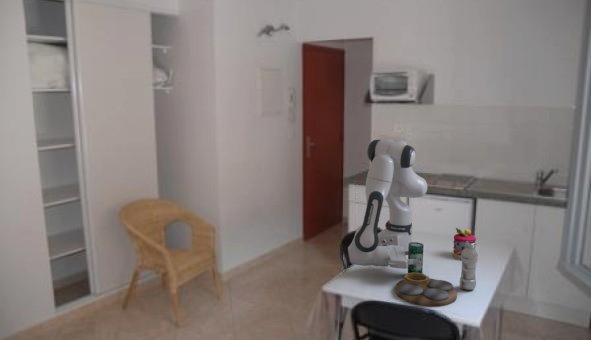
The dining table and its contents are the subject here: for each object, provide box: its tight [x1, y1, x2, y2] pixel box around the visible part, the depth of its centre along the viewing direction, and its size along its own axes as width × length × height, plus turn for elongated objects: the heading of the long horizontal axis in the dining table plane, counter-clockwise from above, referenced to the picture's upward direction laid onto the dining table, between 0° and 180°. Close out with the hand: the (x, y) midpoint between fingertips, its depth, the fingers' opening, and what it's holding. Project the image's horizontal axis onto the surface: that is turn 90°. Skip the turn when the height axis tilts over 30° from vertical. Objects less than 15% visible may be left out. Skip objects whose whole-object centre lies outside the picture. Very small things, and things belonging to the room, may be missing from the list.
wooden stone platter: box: [395, 272, 458, 307], centre depth 192 cm, size 24×24×4 cm
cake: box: [452, 227, 477, 261], centre depth 233 cm, size 10×10×15 cm
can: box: [407, 241, 424, 274], centre depth 208 cm, size 6×6×15 cm
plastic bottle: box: [459, 241, 479, 291], centre depth 195 cm, size 6×7×20 cm
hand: (416, 257), depth 208 cm, fingers open, 8 cm apart
